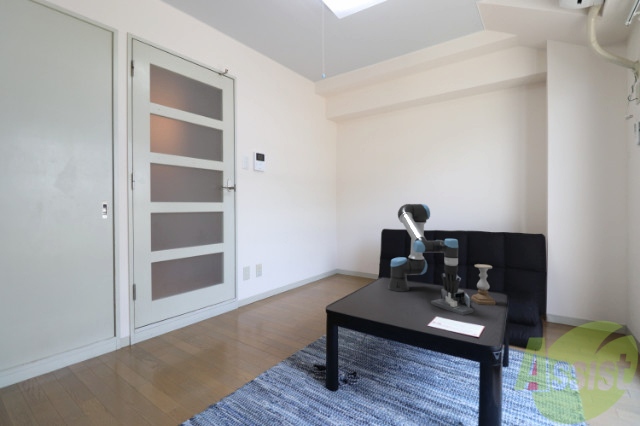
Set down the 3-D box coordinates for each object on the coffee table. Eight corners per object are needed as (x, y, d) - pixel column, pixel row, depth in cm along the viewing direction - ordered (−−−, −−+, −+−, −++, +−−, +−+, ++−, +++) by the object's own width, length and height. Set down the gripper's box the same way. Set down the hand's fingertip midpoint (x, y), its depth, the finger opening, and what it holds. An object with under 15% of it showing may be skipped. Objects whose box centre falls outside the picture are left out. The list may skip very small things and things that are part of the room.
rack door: (467, 307, 175) (467, 296, 175) (464, 302, 185) (464, 292, 185) (472, 308, 175) (472, 297, 175) (469, 303, 184) (469, 292, 184)
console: (430, 304, 183) (430, 300, 183) (441, 301, 188) (441, 298, 188) (462, 315, 164) (462, 311, 164) (473, 312, 169) (473, 308, 169)
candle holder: (487, 299, 193) (488, 264, 193) (496, 305, 182) (496, 267, 182) (470, 299, 194) (471, 263, 194) (477, 304, 183) (478, 267, 183)
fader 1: (445, 301, 181) (445, 296, 181) (448, 300, 183) (448, 295, 183) (448, 302, 179) (448, 297, 179) (452, 301, 180) (452, 296, 180)
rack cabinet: (441, 301, 189) (441, 288, 189) (451, 298, 194) (451, 287, 194) (454, 305, 180) (454, 292, 180) (464, 303, 185) (464, 290, 185)
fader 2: (450, 305, 172) (450, 300, 172) (453, 305, 174) (453, 300, 174) (453, 307, 170) (453, 301, 170) (457, 306, 172) (457, 301, 172)
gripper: (437, 263, 177) (437, 301, 178) (456, 266, 166) (456, 307, 166) (445, 262, 181) (445, 299, 181) (464, 265, 170) (464, 305, 170)
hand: (450, 303), depth 174 cm, fingers closed
